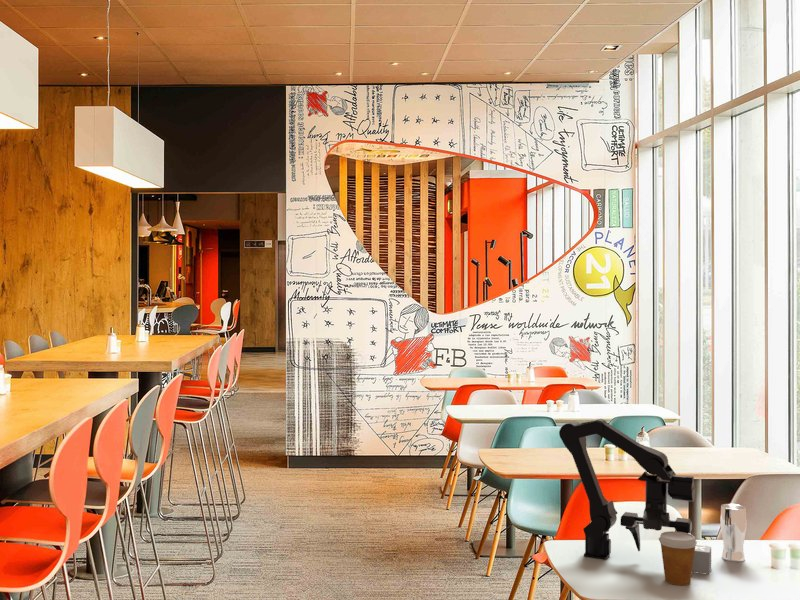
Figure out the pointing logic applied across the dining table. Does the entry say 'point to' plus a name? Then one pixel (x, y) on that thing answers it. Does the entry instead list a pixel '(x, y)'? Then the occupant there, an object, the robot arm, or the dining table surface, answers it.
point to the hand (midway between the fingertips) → (655, 553)
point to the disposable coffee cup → (677, 556)
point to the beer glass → (733, 531)
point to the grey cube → (702, 559)
